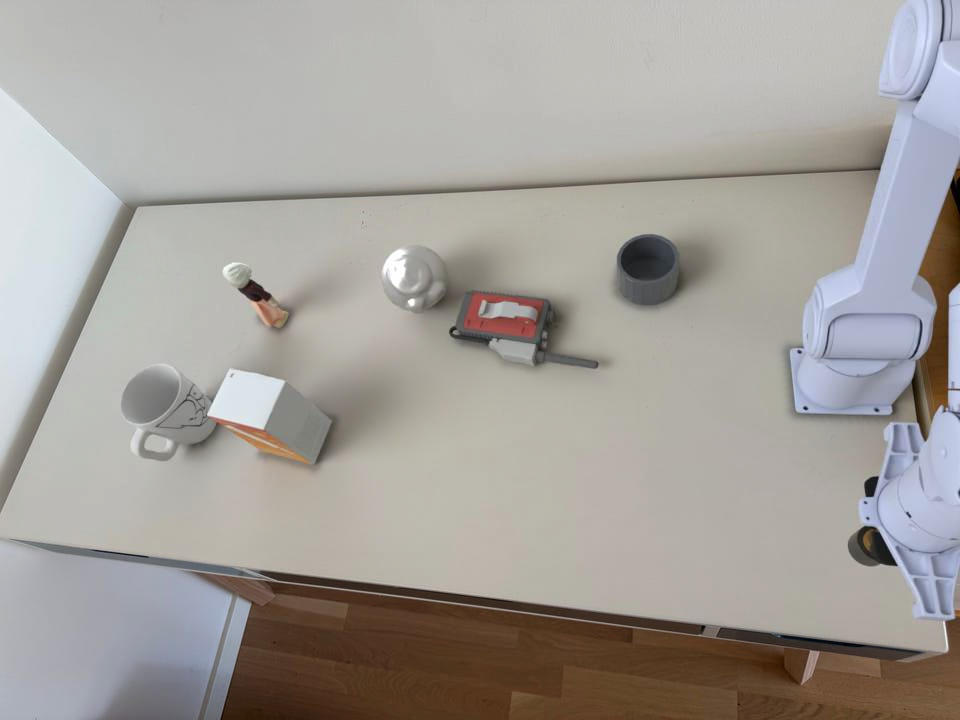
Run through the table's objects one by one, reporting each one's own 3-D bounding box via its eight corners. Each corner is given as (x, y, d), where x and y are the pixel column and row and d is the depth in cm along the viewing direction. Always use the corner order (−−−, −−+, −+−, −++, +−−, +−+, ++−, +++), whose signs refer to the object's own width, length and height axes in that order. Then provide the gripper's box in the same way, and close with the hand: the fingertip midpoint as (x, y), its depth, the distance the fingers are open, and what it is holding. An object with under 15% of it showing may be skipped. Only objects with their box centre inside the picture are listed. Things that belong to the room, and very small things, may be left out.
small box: (262, 452, 85) (204, 415, 74) (282, 408, 87) (228, 366, 76) (315, 466, 82) (263, 430, 71) (334, 421, 85) (286, 378, 73)
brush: (883, 532, 60) (924, 505, 52) (888, 568, 59) (931, 546, 50) (845, 530, 61) (879, 503, 52) (849, 565, 60) (885, 543, 51)
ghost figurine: (387, 326, 90) (360, 287, 81) (401, 269, 94) (376, 226, 85) (449, 328, 87) (428, 288, 79) (461, 269, 91) (442, 225, 83)
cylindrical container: (676, 256, 85) (678, 232, 80) (677, 305, 81) (679, 283, 77) (618, 258, 86) (617, 235, 82) (617, 306, 83) (616, 284, 79)
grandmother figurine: (250, 323, 95) (199, 274, 84) (263, 301, 97) (215, 250, 86) (293, 335, 93) (246, 286, 82) (305, 312, 94) (261, 261, 83)
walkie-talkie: (446, 353, 86) (597, 378, 79) (437, 337, 82) (595, 362, 75) (465, 297, 89) (611, 316, 83) (457, 279, 85) (609, 298, 79)
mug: (195, 480, 85) (144, 456, 76) (147, 463, 88) (93, 437, 79) (236, 402, 89) (193, 371, 81) (189, 388, 92) (142, 356, 84)
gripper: (864, 399, 49) (821, 456, 60) (896, 604, 42) (840, 623, 54) (973, 401, 47) (907, 459, 59) (1023, 615, 41) (937, 632, 52)
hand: (881, 538), depth 56 cm, fingers closed on brush, 2 cm apart
